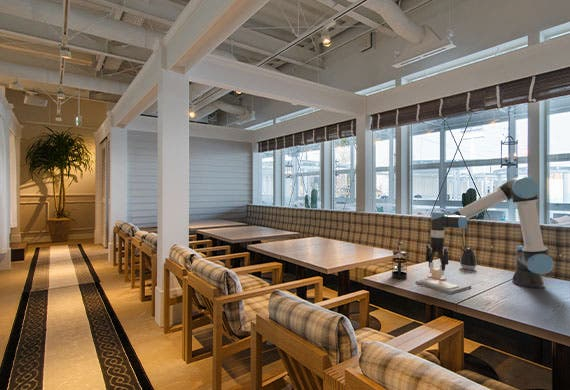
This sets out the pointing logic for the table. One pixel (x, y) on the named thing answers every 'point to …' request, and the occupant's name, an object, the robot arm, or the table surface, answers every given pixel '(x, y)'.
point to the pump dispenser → (468, 259)
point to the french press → (399, 265)
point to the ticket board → (444, 285)
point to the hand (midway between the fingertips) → (436, 274)
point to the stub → (436, 274)
